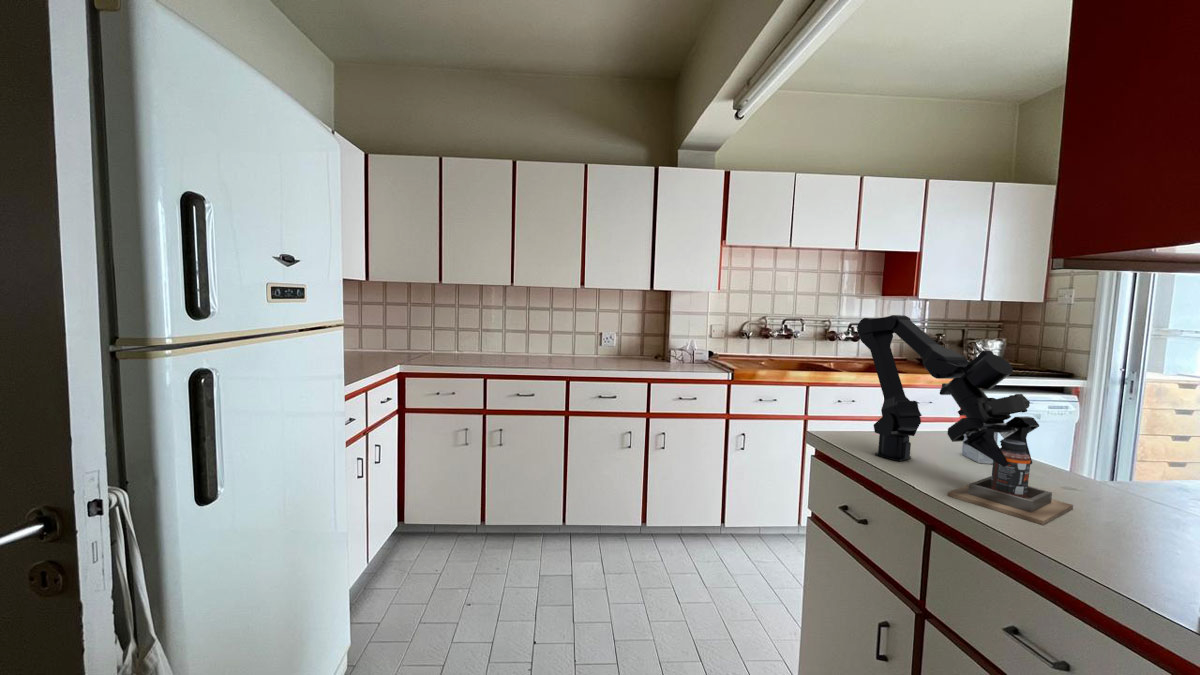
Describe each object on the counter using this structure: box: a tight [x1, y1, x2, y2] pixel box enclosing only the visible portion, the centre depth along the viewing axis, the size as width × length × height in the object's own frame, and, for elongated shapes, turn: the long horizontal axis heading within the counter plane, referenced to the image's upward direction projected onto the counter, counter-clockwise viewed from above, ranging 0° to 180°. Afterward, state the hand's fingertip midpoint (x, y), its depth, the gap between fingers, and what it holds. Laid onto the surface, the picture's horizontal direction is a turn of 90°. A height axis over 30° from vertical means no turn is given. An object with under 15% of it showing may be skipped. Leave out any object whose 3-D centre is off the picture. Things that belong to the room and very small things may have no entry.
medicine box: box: [961, 433, 999, 465], centre depth 134 cm, size 8×4×9 cm, turn 170°
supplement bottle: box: [991, 438, 1032, 498], centre depth 104 cm, size 6×6×11 cm
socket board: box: [947, 475, 1074, 526], centre depth 104 cm, size 16×16×3 cm
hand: (1018, 465), depth 103 cm, fingers closed on supplement bottle, 6 cm apart
